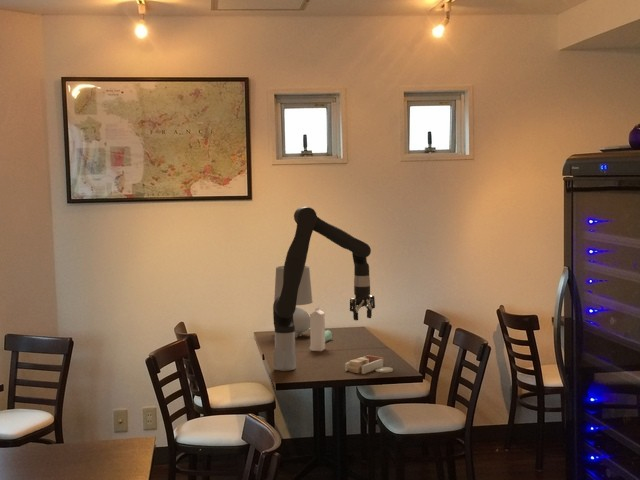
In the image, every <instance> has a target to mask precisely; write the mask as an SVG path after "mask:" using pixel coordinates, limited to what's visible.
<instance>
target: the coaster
mask: <svg viewBox="0 0 640 480" xmlns="http://www.w3.org/2000/svg"><path fill="white" fill-rule="evenodd" d="M374 371H375V372H376V373H379V372H380V374H386V373H387V374H389V373H393V372H394V368H393V367H388V366H387V367H386V366H383V367H379V368H376V369H375V370H374Z"/></svg>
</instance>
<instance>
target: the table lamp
mask: <svg viewBox="0 0 640 480" xmlns="http://www.w3.org/2000/svg"><path fill="white" fill-rule="evenodd" d="M310 272H311V271H310V265H305V267H304V271H303V275H302V278H301V282H300V285H299V289H298V294H297V302H296V309H295V312H294V314H293V321H294V325H295V338H298V337H302V334H303V333H304V332H306V331H308V330H309V329H310V314H309V312H307V311H306V310H305V309H303V308H301V307H298V306H306V305H311V304H313V295H312V294H313V293H312V283H311V273H310ZM283 273H284V265H279V266H276V267H275V278H274V279H275V281H274V283H275V284H274V299H273V302H274V301H275V300H276V299H277V298H278V297H280V295H281V292H282V288H283Z"/></svg>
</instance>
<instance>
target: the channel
mask: <svg viewBox="0 0 640 480" xmlns="http://www.w3.org/2000/svg"><path fill="white" fill-rule="evenodd" d="M361 358H365V359H369V363H368V364H365V365H362V372H361V375H362V374H368V373H370V372H372V371H375V369H376V368H379V367H385V357H381V356H375V355H370V354H369V355H368V354H365V355H364V356H363V357H361ZM344 371H345V372H348V371H349V361H348V362H345V363H344Z"/></svg>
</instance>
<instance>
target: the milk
mask: <svg viewBox="0 0 640 480" xmlns="http://www.w3.org/2000/svg"><path fill="white" fill-rule="evenodd" d="M325 314H326V313H325V311H323V310H321V309H320V306H317V307H315V309H314V311H313V312H311V313H310V314H309V316H310V328H309V329H310V330H309V331H310V332H309V333H310V346H311V350H310V351H311V352H313V351H314V352H323V351H324V350H325V349H326V342H325V331H326V327H325V326H326V322H325V321H326V319H325Z"/></svg>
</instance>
